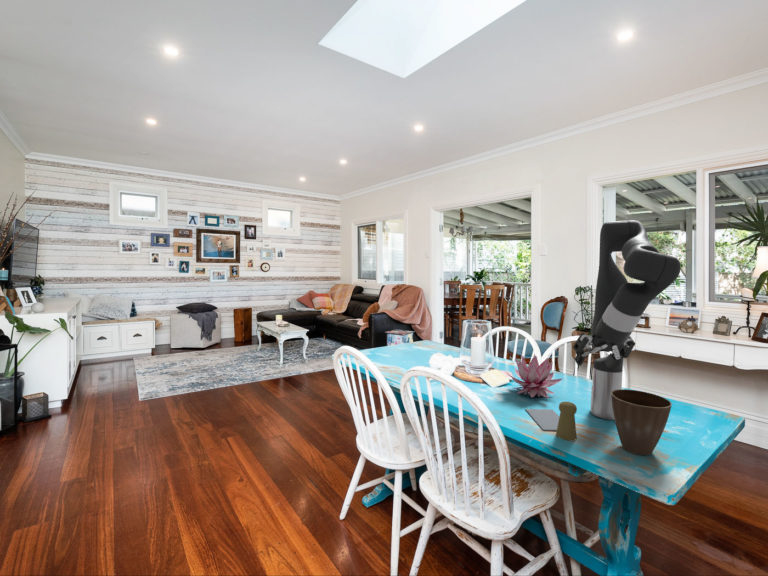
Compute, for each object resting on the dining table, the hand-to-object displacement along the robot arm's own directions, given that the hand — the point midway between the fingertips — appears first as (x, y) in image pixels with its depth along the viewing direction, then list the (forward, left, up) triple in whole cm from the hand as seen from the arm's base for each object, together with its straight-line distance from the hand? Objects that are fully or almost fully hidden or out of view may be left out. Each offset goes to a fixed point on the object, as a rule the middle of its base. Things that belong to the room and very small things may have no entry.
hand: (592, 364), depth 105 cm
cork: (-14, 0, -28) cm, 31 cm away
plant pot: (-6, +18, -28) cm, 33 cm away
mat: (-26, -1, -27) cm, 38 cm away
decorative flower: (-53, +3, -28) cm, 60 cm away
